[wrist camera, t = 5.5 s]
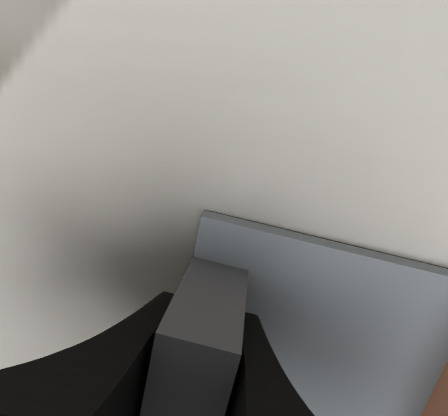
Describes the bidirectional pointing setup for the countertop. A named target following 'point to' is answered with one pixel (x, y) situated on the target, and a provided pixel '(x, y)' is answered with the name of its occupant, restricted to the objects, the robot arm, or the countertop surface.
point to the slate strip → (300, 323)
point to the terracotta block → (439, 397)
